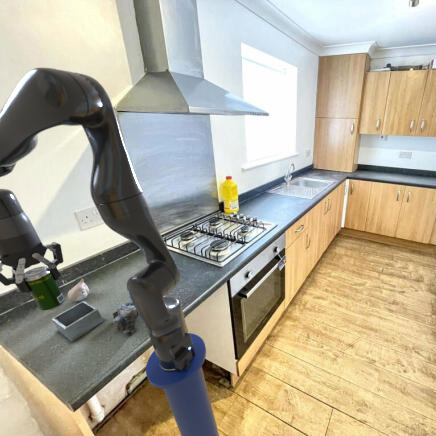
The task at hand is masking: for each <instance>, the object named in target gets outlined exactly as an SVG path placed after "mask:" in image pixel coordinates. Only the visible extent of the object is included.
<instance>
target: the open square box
mask: <svg viewBox="0 0 436 436" xmlns="http://www.w3.org/2000/svg"><path fill="white" fill-rule="evenodd" d="M51 321H52V322H53V323H54V325H55V327H56V329H57V331H58V332H60V334H62V335H63V336H64V337H65V338H67V339H68V340H69V341H71V342H75V341H76V340H78V339H79V338H80V337H82V336H84V335H85V334H87V333H88V332H89V331H91V330H93V329H95V328H96V327H97V326H99V325H100V324H102V323H103V322H104V320H103V317H102V315H101V313H100V310H99V308H97V307H95V306H93V305H92V304H91V303H89V302H88V301H86V300H81V301H79V302H78V303H76V304H75V305H73V306H72V307H69V308H68V309H66V310H64V311H62V312H60V313H59V314H57V315H55V316H54V317H51Z"/></svg>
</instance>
